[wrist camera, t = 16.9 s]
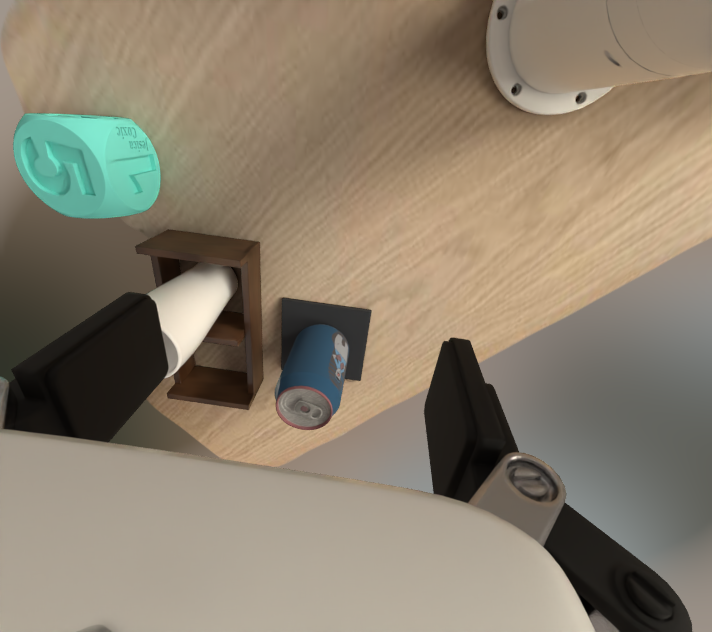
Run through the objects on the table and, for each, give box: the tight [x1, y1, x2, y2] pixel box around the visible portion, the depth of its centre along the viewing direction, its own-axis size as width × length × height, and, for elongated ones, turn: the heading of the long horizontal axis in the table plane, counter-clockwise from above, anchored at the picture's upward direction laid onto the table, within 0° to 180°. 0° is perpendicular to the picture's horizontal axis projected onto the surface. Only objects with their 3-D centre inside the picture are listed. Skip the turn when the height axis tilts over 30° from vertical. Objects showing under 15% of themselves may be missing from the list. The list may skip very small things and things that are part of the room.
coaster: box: [281, 298, 371, 381], centre depth 45 cm, size 11×11×1 cm
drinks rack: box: [135, 229, 263, 410], centre depth 42 cm, size 11×20×6 cm, turn 173°
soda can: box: [275, 324, 349, 430], centre depth 40 cm, size 7×7×12 cm
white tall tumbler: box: [147, 262, 238, 378], centre depth 36 cm, size 7×7×15 cm
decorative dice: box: [13, 113, 161, 218], centre depth 33 cm, size 8×8×8 cm
